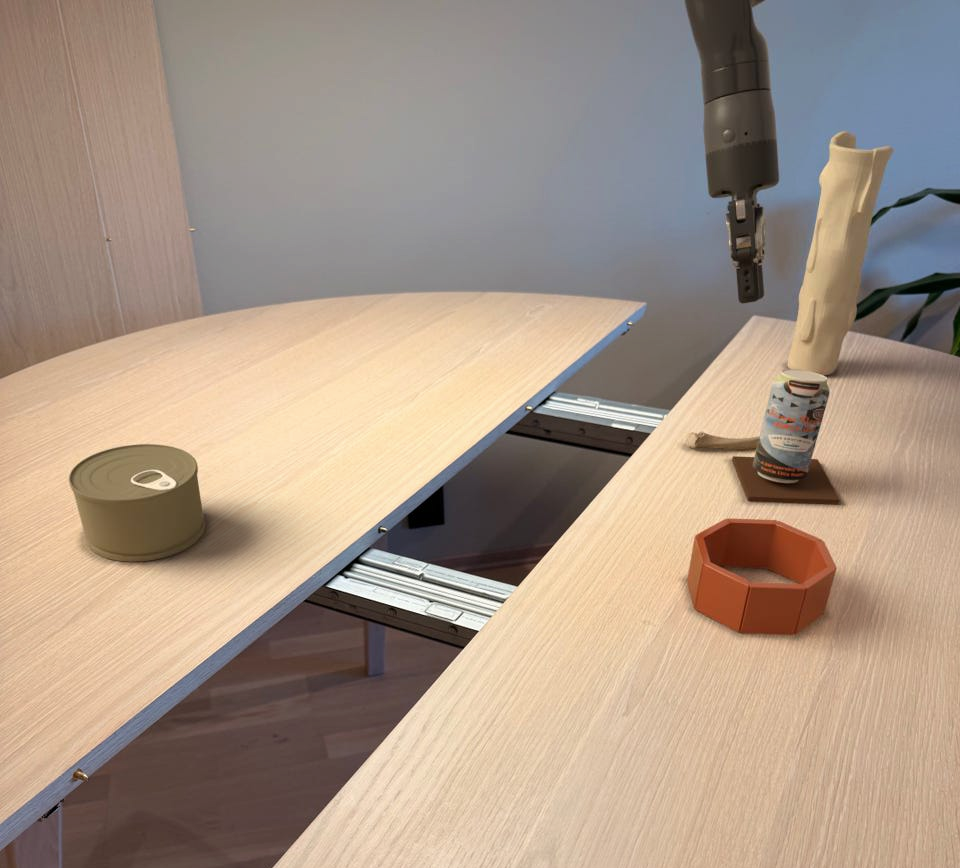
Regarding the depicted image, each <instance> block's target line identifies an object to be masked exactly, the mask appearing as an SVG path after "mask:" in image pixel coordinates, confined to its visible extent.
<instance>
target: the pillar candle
mask: <svg viewBox="0 0 960 868" xmlns="http://www.w3.org/2000/svg"><path fill="white" fill-rule="evenodd" d="M893 153H894V148H893V147H892V146H888V145H886V146H881V147H874V148H873V149H858V148H857V136H856V135H855V134H852V133H850V132H849V131H846V130H843V131H839V132H838V133H835V135H833V136H832V137H831V139H830V142H829V157H828V158H829V159H828V162H827V163H826V164H825V166H824V167H823V169H822V171H821V172H820V175H819V178H818V182H819V183H818V184H819V186H820V189H821V190H820V197H819V204H818V207H817V213H816V220H815V224H814V231H813V235H812V240H811V245H810V248H809V252H808V256H807V260H806V265H805V272H804V277H803V281H802V285H801V287H800V291H799V294H798V314H797V318H796V324H795V328H794V333H793V337H792V343H791V347H790V351H789V354H788V358H787V367H788V369H797V370H804V371H810V372H814V373H818V374H821V375H823V376H829V375H831V374H833V373H834V372H835V371H836V369H837V367H838V363H839V359H840V355H841V350H842V348H843V347H842V346H843V342H844V339H845V338H846V336H847V334H848V333H849V331H850V330H851V328H852V325H853V324H854V322H855V320H856V317H857V312H858V308H857V307H858V306H857V298H858V294H859V290H860V286H861V283H862V275H861V274H862V269H863V264H864V260H865V256H866V252H867V248H868V240H869V235H870V229H871V224H872V220H873V216H874V211H875V207H876V204H877V200H878V196H879V192H880V189H881V185H882V183H883V178H884V174H885V171H886V167H887V164H888V162H889V160H890V158H891V156H892V155H893Z"/></svg>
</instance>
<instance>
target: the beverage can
mask: <svg viewBox="0 0 960 868" xmlns="http://www.w3.org/2000/svg"><path fill="white" fill-rule="evenodd" d="M829 398H830V388H829V385H828V377H827V376H826V375H821V374H818V373H814V372H810V371H804V370H797V369H790V368H785V369H782V370H781V371H780V374H779V376H777V377H776V378H775V379H774V380H773V382H772V385H771V388H770V391H769V396H768V400H767V404H766V409H765V413H764V417H763V421H762V425H761V428H760V429H761V430H760V433H759V436H760V437H759V441H758V445H757V447H756V449H755V454H754V456H753V457H754V461H753V468H754V469H755V470H756V471H758V474H759V475H760V476H761V477H763V478H765V479H768V480H771V481H775V482H780V483H795V482H797V481H798V480H800V479H803V478H805V477H806V476H807V474H808V470H809V466H810V463H811V459H813V455H814V453H815V452H814V451H815V448H816V445H817V441H818V437H819V434H820V430H821V426H822V422H823V419H824V416H825V411H826V408H827V404H828V400H829Z"/></svg>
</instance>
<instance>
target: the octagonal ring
mask: <svg viewBox="0 0 960 868" xmlns="http://www.w3.org/2000/svg"><path fill="white" fill-rule="evenodd" d="M693 538H694V539H693V544H692V550H691V556H690V561H689V567H688V572H687V579H686V582H687V585H688V589H689V594H690V598H691V601H692V605H693V606H692V607H693V609H694V610H695V611H696V612H698V613H700V614H702V615H704V616H705V617H708V618H710V619H712V620H714V621H716V622H718V623H719V624H721V625H723V626H725V627H727V628H729V629H731V630H733V631H734V632H736V633H740V634H751V635H752V634H755V635H756V634H757V635H780V636H781V635H783V636H794V635H797V634H799V633H800V632H801V631H803V630H804V629H806V628H807V627H808V626H810V625H811V624H812V623H814V622H816V621H817V620H818V619H820V618H821V617H823V616H824V614H825V612H826V608H827V604H828V602H829V601H828V600H829V598H830V595H831V589H832V587H833V582H834V579H835V576H836V572H837V567H838V566H837V565H836V564H835V561H834V559H833V557H832V554H831V553H830V550H829V549H828V547H827V544H826V543H825V541H824V540H823V539H822V538H819V537H817V536H815V535H813V534H810V533H807V532H805V531H803V530H801V529H799V528H796V527H794V526H792V525H790V524H787V523H785V522H783V521H780V520H777V519H756V518H755V519H754V518H724V519H722V520H720V521H718V522H716V523H715V524H713V525H711V526H709V527H708V528H706V529H704V530H702V531H700V532H699V533H697V534H695V536H694V537H693ZM723 567H726V568H755V569H768V570H769V571H770V572H771V571H772V572H773V573H776V574H778V575H780V576H782V577H784V578H787V579H788V580H790V581H793V582H795V583H785V582H755V581H751V580H749V579H747V578H744V577H742V576H740V575H738V574H736V573H734V572H732V571H730V570H727V569H725V568H723Z"/></svg>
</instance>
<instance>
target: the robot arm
mask: <svg viewBox="0 0 960 868" xmlns="http://www.w3.org/2000/svg"><path fill="white" fill-rule="evenodd" d="M683 1H684V5H685V10H686V14H687V18H688V22H689V26H690V31H691V34H692V38H693V41H694V44H695V47H696V50H697V53H698V57H699V61H700V62H699V63H700V78H701V91H702V102H703V124H702V125H703V127H702V129H703V132H702V133H703V142H704V143H703V144H704V154H705V155H704V156H705V166H706V178H707V191H708V195H709V197H710V198H713V199H722V198H729V197H731V200H730V201H728V204H727V206H726V208H727V211H728V213H725V222H726V223H725V224H726V227H727V231H728V246H729V250H730V252H731V253H730V258H731V259H732V265H734V268H735V270H736V271H735V272H736V284H737V285H736V286H737V297H738V302H739V303H740V304H749V303H755V302H757V301H759V300H762V299H764V296H765V286H764V273H763V271H764V270H763V265H762V264H764V261H765V249H764V248H765V247H766V233H765V232H766V231H765V225H766V210H765V207H764V206H761V204H760V203H758V198H757V196H758V193H759V192H760V191H765V190H767V189H771V188H774V187H776V186H777V185H778V184H779V182H780V170H779V155H778V152H779V151H778V139H777V138H778V137H777V123H776V121H777V120H776V112H775V107H774V101H773V96H772V86H771V85H772V83H771V70H770V56H769V55H770V54H769V48H768V43H767V42H768V41H767V40H766V37H765V36H764V34H763V33H762V32H761V31H760V30H759V29H758V27H757V25H756V22H755V18H754V13H753V8H755V7H757V6H759V5H760V4H762V3H764V2H765V1H766V0H683Z"/></svg>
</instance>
